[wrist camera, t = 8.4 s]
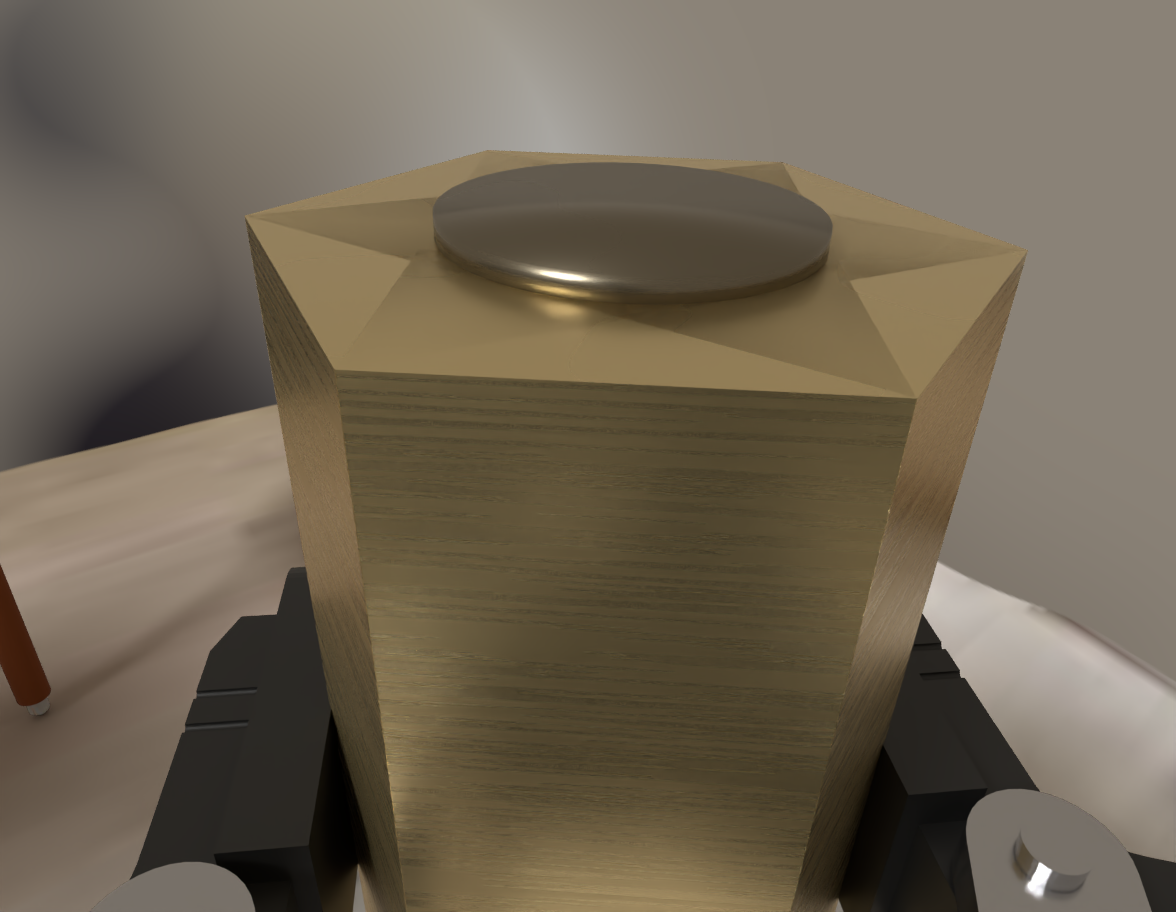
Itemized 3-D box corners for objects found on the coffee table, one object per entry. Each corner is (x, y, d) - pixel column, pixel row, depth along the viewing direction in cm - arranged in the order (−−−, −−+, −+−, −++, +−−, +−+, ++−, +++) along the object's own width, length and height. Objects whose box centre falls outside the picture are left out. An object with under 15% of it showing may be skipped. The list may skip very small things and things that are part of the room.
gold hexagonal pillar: (828, 1249, 11) (1238, 292, 4) (505, 1485, 9) (422, 482, 3) (632, 905, 14) (703, 116, 8) (376, 1027, 13) (214, 150, 6)
